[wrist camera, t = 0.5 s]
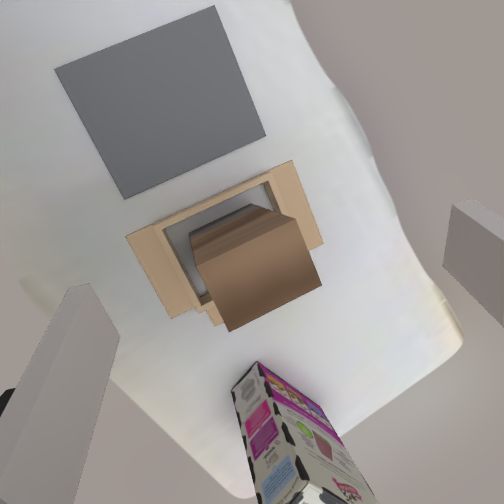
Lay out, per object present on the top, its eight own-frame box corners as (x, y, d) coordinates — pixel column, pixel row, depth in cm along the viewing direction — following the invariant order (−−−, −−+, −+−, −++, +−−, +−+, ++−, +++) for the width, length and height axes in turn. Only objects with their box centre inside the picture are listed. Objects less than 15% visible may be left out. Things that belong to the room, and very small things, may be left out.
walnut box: (188, 232, 35) (195, 266, 21) (251, 203, 35) (295, 218, 22) (210, 275, 36) (229, 332, 23) (269, 246, 37) (322, 285, 23)
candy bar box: (227, 392, 39) (261, 534, 24) (256, 359, 39) (308, 480, 24) (295, 437, 43) (364, 588, 27) (322, 406, 42) (407, 540, 27)
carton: (125, 236, 33) (121, 240, 31) (291, 160, 35) (299, 158, 33) (183, 340, 37) (184, 352, 35) (331, 266, 39) (341, 272, 36)
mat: (55, 70, 30) (53, 69, 29) (214, 7, 31) (214, 5, 31) (124, 199, 33) (124, 199, 32) (265, 136, 34) (266, 135, 34)
